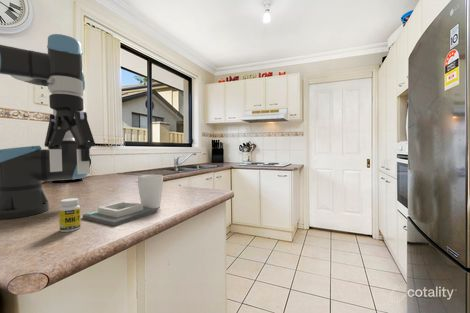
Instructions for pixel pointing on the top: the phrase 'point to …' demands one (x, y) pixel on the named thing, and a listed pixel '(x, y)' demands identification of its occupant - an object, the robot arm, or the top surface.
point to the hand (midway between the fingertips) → (69, 172)
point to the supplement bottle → (69, 215)
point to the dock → (119, 213)
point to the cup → (150, 190)
